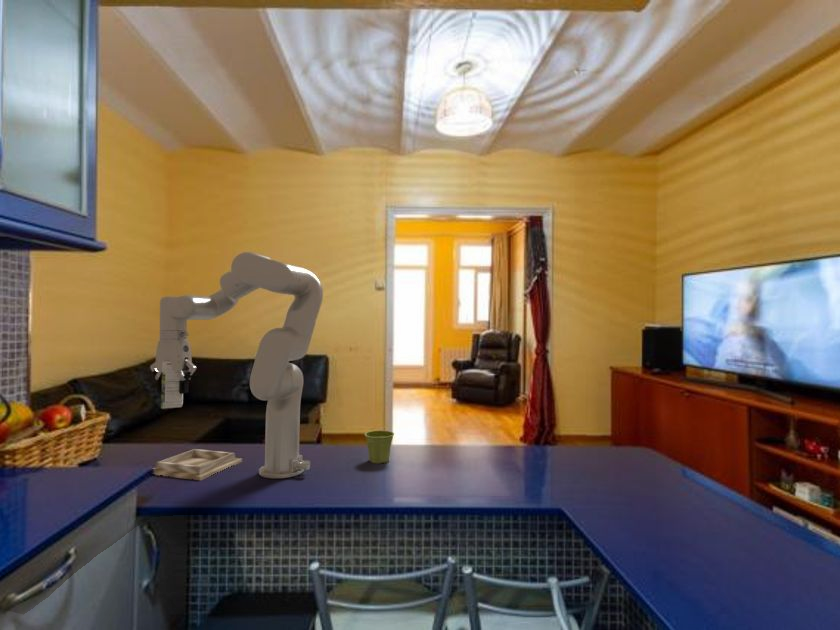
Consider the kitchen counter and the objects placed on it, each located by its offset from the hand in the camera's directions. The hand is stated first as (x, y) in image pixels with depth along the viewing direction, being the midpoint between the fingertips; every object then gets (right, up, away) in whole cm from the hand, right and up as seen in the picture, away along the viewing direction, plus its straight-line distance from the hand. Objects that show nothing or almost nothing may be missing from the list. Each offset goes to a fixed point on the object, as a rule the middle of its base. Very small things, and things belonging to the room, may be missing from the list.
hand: (172, 392), depth 144 cm
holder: (+11, -21, -7) cm, 25 cm away
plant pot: (+64, -23, +3) cm, 68 cm away
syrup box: (0, -5, 0) cm, 5 cm away
